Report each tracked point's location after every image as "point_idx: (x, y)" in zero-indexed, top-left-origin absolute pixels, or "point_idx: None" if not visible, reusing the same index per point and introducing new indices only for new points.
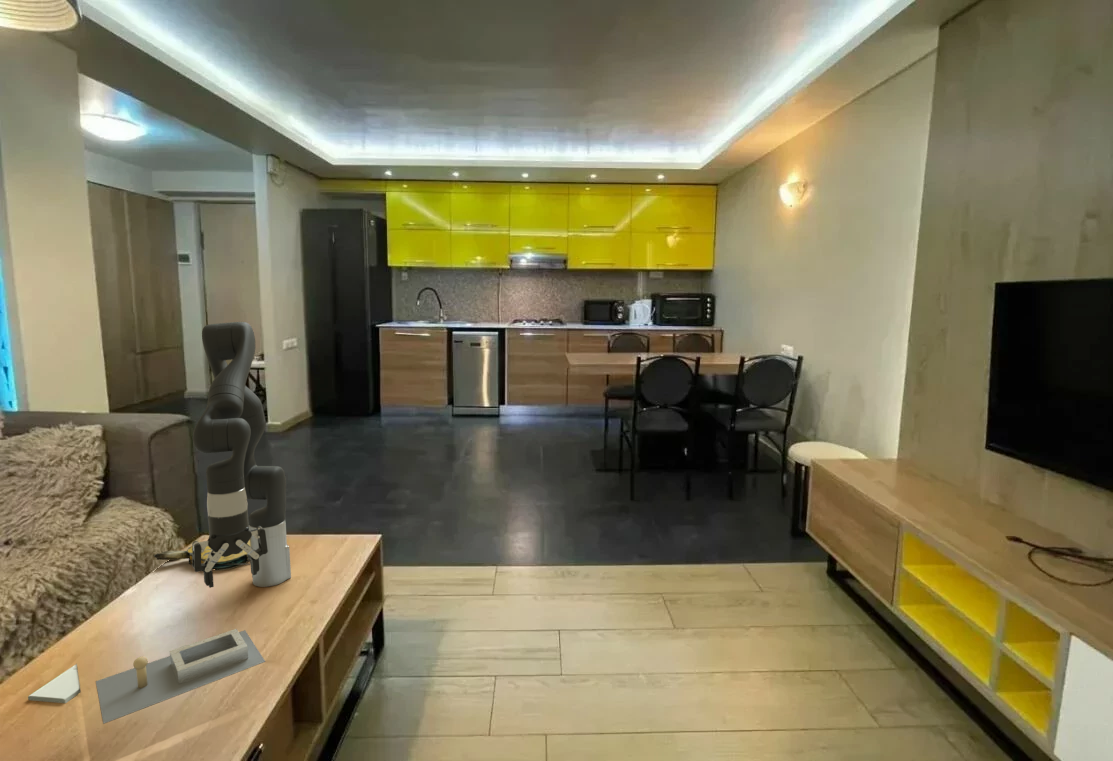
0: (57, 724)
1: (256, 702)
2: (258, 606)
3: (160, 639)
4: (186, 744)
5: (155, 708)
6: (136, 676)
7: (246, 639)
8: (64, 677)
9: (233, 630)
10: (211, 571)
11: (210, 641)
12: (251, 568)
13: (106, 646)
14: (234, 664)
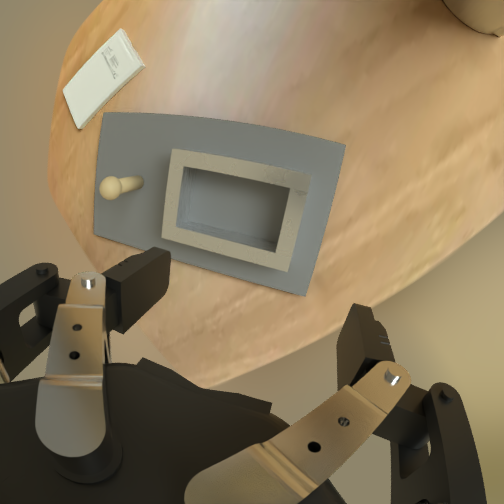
0: (71, 173)
1: (246, 352)
2: (418, 61)
3: (218, 28)
4: (159, 341)
5: None
6: (138, 144)
7: (327, 187)
8: (90, 69)
9: (302, 178)
10: (119, 330)
11: (244, 177)
12: (351, 330)
13: (156, 2)
14: None
